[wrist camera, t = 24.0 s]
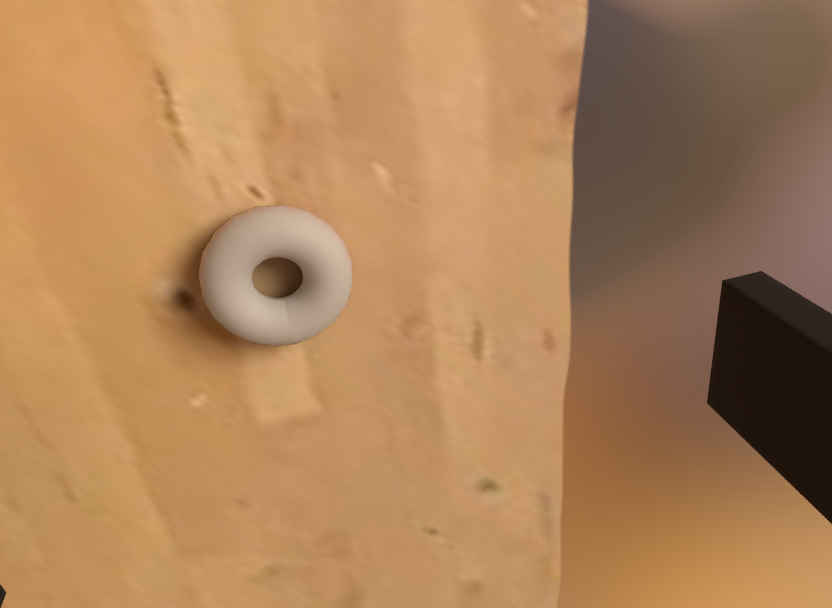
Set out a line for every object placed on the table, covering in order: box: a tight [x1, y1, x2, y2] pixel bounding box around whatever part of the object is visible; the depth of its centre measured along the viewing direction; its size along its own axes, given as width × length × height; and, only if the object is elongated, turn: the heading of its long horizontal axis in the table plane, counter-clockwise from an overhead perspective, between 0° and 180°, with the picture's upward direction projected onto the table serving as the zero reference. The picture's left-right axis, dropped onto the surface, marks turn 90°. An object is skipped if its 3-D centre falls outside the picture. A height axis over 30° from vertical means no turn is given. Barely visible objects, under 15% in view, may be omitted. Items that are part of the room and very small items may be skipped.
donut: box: [198, 205, 352, 346], centre depth 42 cm, size 10×4×10 cm
